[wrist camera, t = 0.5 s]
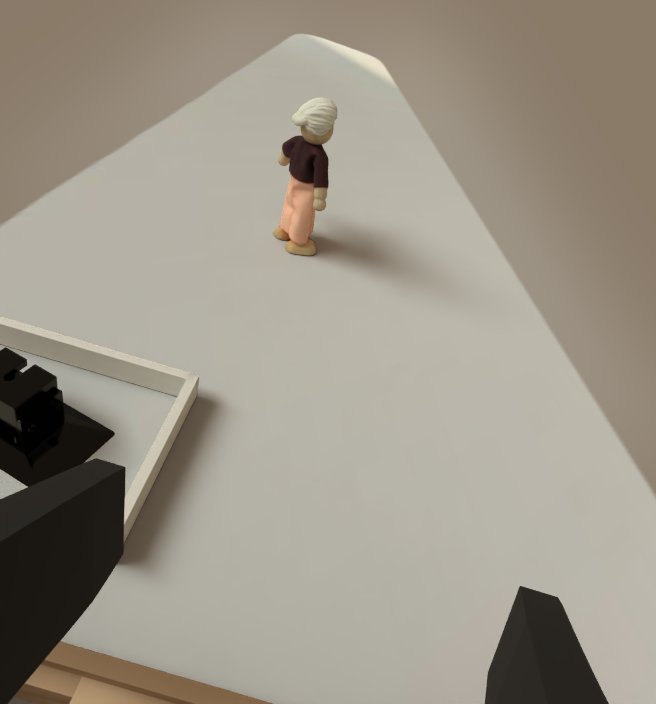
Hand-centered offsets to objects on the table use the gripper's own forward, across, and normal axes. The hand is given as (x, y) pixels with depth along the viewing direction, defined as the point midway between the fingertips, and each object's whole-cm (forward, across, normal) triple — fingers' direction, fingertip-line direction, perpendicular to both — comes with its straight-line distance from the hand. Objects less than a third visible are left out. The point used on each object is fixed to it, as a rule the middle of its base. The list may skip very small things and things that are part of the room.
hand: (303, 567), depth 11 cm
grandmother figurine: (+45, +14, +6) cm, 47 cm away
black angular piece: (+18, +21, +14) cm, 31 cm away
